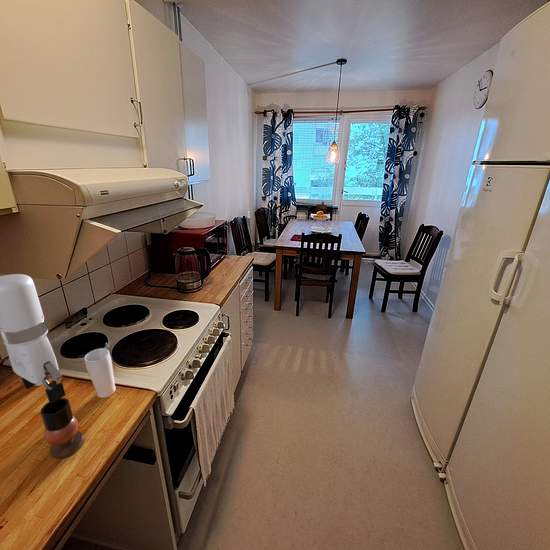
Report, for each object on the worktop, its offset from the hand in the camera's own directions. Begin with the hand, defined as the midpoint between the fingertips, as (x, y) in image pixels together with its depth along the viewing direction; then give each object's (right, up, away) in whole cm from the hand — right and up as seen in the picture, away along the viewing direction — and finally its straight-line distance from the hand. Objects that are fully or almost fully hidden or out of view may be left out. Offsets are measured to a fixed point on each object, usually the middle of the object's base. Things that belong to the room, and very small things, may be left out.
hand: (45, 391), depth 68 cm
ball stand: (0, -17, +7) cm, 19 cm away
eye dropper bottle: (-25, -9, +29) cm, 39 cm away
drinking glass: (0, -11, +25) cm, 27 cm away
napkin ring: (0, -9, +4) cm, 10 cm away
